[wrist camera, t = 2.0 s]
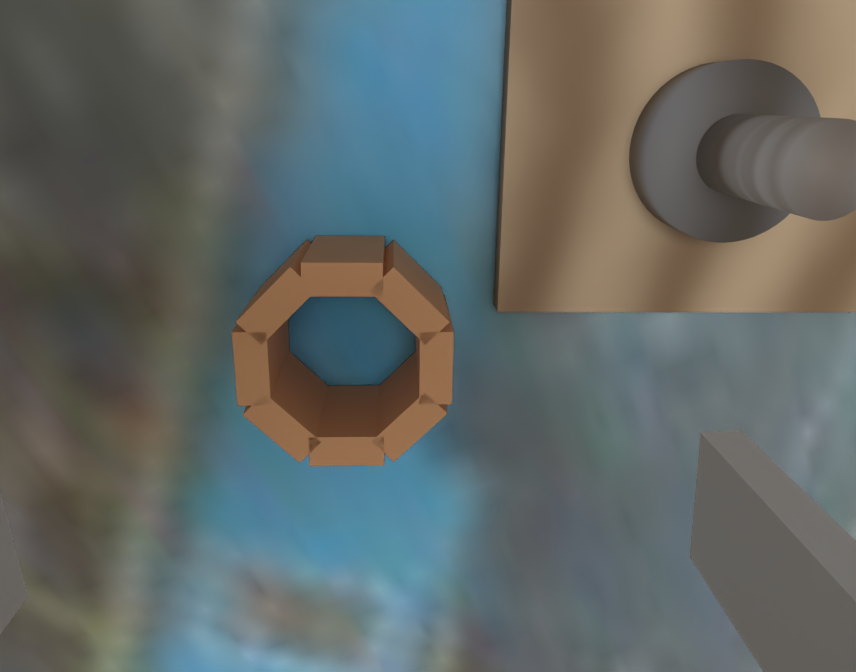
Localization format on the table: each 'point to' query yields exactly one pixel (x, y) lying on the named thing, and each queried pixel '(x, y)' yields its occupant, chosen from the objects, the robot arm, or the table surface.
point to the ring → (357, 404)
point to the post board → (587, 159)
